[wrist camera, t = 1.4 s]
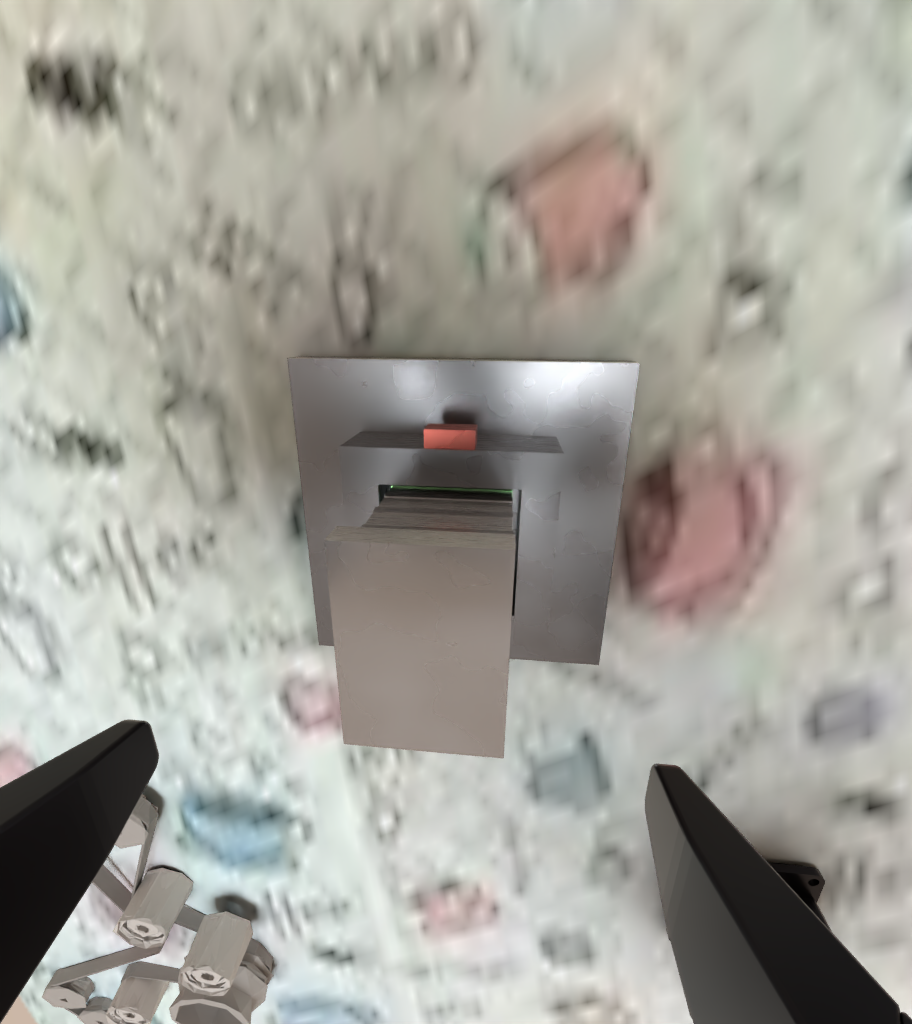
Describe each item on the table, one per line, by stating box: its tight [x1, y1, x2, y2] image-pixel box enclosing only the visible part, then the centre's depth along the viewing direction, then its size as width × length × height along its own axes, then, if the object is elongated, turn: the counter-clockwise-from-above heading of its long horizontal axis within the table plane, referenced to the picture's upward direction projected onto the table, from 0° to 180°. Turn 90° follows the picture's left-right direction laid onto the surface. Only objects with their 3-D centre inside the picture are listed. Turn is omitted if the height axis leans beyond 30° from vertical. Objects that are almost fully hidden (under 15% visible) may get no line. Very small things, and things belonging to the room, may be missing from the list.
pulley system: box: [42, 794, 273, 1024], centre depth 31 cm, size 27×5×15 cm
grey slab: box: [324, 485, 515, 758], centre depth 15 cm, size 4×6×8 cm
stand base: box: [287, 357, 640, 665], centre depth 18 cm, size 12×12×4 cm
